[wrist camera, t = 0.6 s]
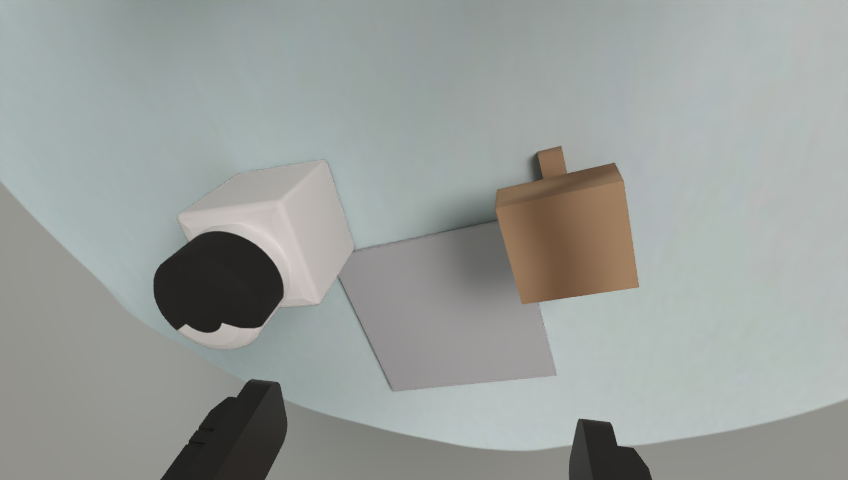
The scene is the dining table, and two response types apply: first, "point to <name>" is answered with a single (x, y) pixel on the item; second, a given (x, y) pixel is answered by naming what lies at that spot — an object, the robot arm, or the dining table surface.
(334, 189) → the blocky figurine
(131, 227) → the dining table surface
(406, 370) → the mat
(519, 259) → the wooden pedestal stool
